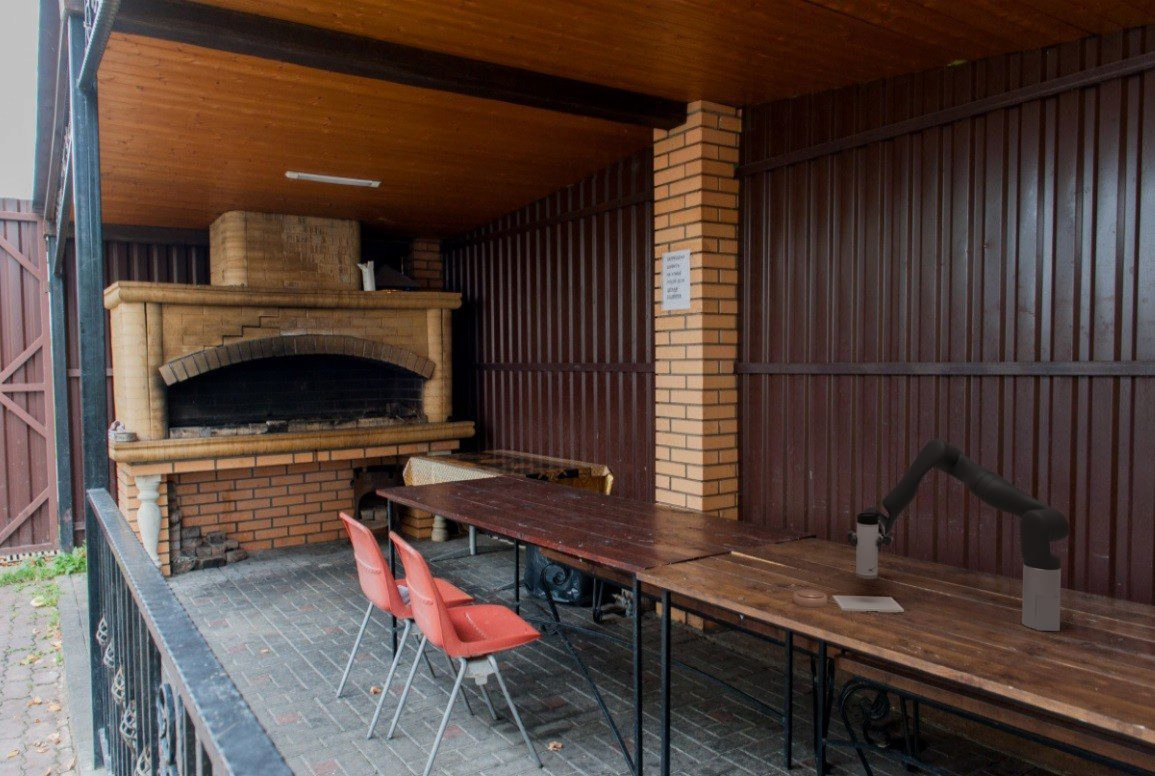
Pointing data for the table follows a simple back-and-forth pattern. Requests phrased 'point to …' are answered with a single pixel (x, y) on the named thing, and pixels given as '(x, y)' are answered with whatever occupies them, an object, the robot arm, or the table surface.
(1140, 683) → the table surface
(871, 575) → the travel mug
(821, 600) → the tan round domed disc
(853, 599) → the tile
